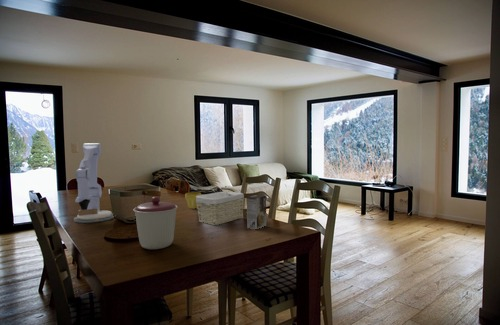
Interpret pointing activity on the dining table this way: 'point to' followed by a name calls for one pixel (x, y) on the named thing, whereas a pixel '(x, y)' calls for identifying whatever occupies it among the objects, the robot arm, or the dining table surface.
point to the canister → (155, 223)
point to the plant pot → (192, 199)
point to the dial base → (93, 220)
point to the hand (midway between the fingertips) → (84, 212)
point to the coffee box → (256, 211)
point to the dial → (93, 214)
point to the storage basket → (220, 207)
